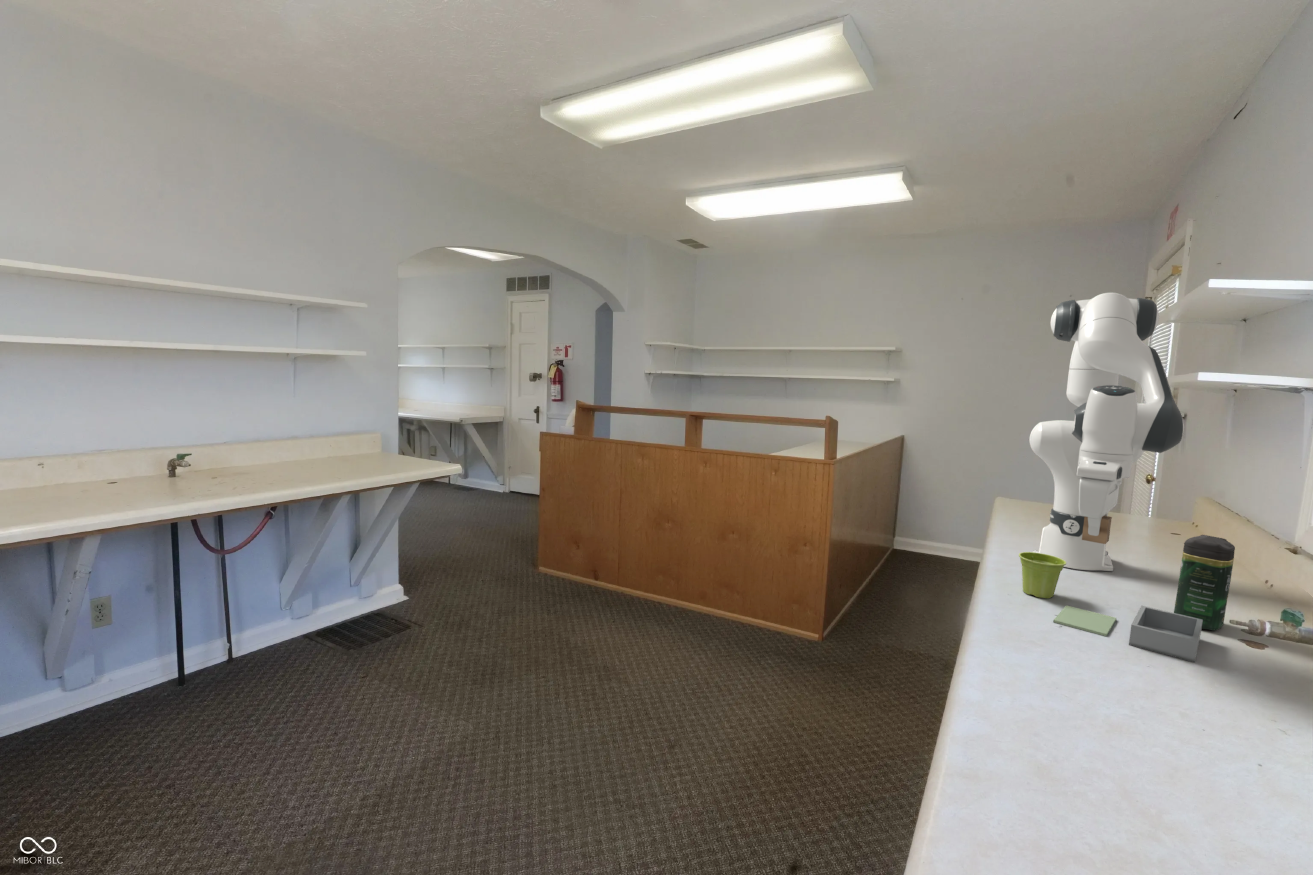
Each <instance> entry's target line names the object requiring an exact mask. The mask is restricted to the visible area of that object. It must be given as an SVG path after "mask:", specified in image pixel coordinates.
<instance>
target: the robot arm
mask: <svg viewBox="0 0 1313 875" xmlns="http://www.w3.org/2000/svg"><path fill="white" fill-rule="evenodd" d="M1159 321H1160V312H1159V309H1158V306H1157V304H1156V303H1155V302H1154V300H1152V299H1148V298H1142V297H1137V298H1130V297H1127V295H1124V294H1121V293H1117V292H1104V293H1100V294H1098V295H1095V296H1094V297H1091V299H1081V300H1075V299H1071V300H1067V301H1063V302H1062V301H1061V302H1060V303H1059V304H1057V305H1056V308H1055V309H1054V311H1053V313H1052V314H1051V317H1050V324H1049V325H1050V329H1051V332H1052V334H1053V337H1054V338H1055V339H1056V340H1059V341H1063V342H1067V343H1068V342H1069V343H1070V342H1074V345H1073V348H1072V351H1071V356H1070V361H1069V367H1068V368H1069V369H1068V376H1067V382H1066V392H1065V393H1066V399H1068V401H1069V402H1070V403H1071V404H1073V405H1074V406H1076V408H1075V409H1074V411H1073V412H1074V420H1064V419H1062V420H1061V419H1057V420H1047V421H1046V420H1045V421H1040V422H1038V423H1037V424H1036V425H1035V426H1034V427H1032V430H1031V432H1030V434H1029V439H1028V440H1029V446H1030V448H1031V450H1032V452H1033V453H1034V454H1035V456H1037V457H1039V459H1041V460H1042V461H1043V462H1044V463H1045V464H1046V466H1047V468H1048V469H1049V470H1050V472H1051V475H1052V478H1053V484H1054V494H1053V495H1054V496H1053V507H1052V508H1051V511H1050V513H1049V521H1050V523H1049V524H1048V525H1045V526H1044V527H1042V531H1041V537H1040V543H1039V549H1035V550H1033V551H1032V552H1035V553H1042V554H1047V555H1051V556H1055V557H1058V558H1061V559H1063V560H1064V561H1066V565H1064V566H1063V568H1069V569H1072V570H1073V569H1074V570H1081V571H1105V572H1114V566H1113V562H1112V559H1111V556H1110V555H1109V551H1108V550H1106V549H1107V543H1106V544H1102V543H1096V542H1091V541H1085V540H1082V533H1083V525H1084V517H1088V526H1089V527H1088V534H1089V535H1093V536H1098V535H1099V534H1100V524H1101V519H1102V517H1103V516H1109V512H1110V511H1112V509H1114V507H1115V506H1117V505H1118V500H1119V492H1120V486H1121V485H1122V483H1123V479H1128V478H1131V477H1132V468H1133V464H1134V463H1136V462H1137V461H1138V460H1140V458H1141V457H1142V456H1143V455H1144V453H1145V452H1150V453H1158V454H1161V453H1164V452H1166V451H1168V450H1171V449H1172V448H1174V447H1176V446H1177V445H1179V444H1180V443H1181V441H1182V438H1183V434H1184V430H1185V425H1184V423H1185V422H1184V419H1183V415H1182V413H1181V411H1180V409H1179V407H1178V406H1177V403H1176V401H1175V400H1174V395H1173V393H1172V390H1171V387H1170V384H1169V380H1168V378H1167V375H1166V371H1165V369H1164V365H1163V362H1162V360H1161V358H1160V355H1159V354H1158V352H1157V349H1155V348H1153V347H1151V346H1149V345H1147V344H1146V343H1145V342H1144V341H1145V340H1147V339H1148V338H1150V337H1152V336H1153V333H1154V332H1155V331H1156V329H1157V327H1158V325H1159ZM1120 376H1123V377H1125V378H1128V379H1131V380H1133V381H1134V382H1136V383H1137V384H1138V385H1139V386H1140V388H1141V391H1142V396H1143V399H1144V401H1145V403H1142V402H1141V403H1140V402H1138V395H1137V391H1136V390H1135V389H1134V388H1131V387H1128V386H1122V385H1119V380H1120V379H1119V378H1120Z"/></svg>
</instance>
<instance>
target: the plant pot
mask: <svg viewBox="0 0 1313 875" xmlns="http://www.w3.org/2000/svg"><path fill="white" fill-rule="evenodd" d="M1018 557H1019V559H1020V563H1021V576H1022V579H1021V580H1022V591H1023V593H1025V595H1026V594H1027V595H1029V596H1030V595H1032V596H1035V597H1036V598H1040V599H1041V598H1042V599H1051V598H1052V597H1054V595H1055V591H1056V588H1057V585H1058V582H1059V579H1060V576H1061V573H1062V571H1063V569H1064V567H1063V566H1064V565H1066V561H1064V560H1063V559H1061V558H1058V557H1055V556H1051V555H1047V554H1042V553H1035V552H1033V551H1025V552H1024V551H1023V552H1019V553H1018Z"/></svg>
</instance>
